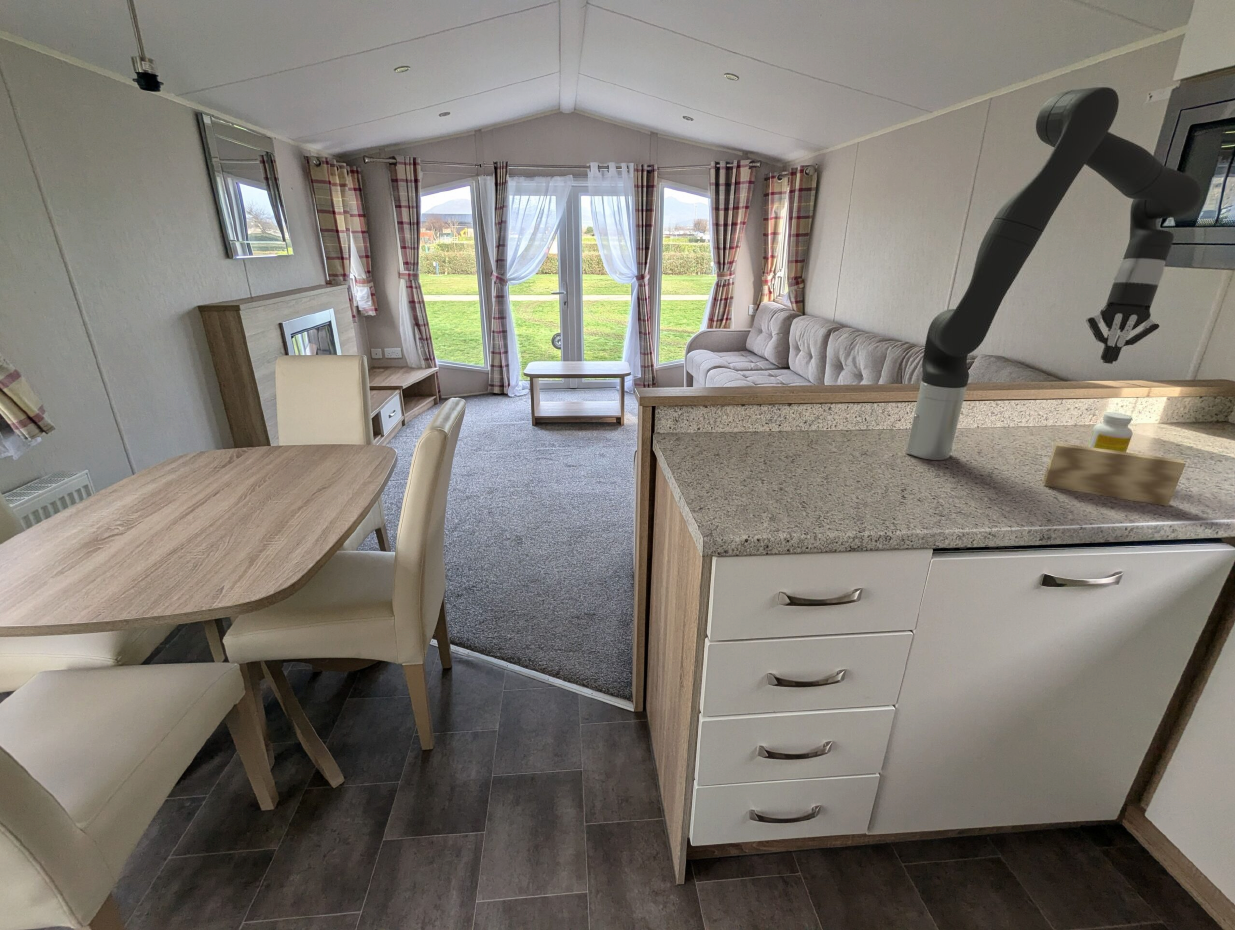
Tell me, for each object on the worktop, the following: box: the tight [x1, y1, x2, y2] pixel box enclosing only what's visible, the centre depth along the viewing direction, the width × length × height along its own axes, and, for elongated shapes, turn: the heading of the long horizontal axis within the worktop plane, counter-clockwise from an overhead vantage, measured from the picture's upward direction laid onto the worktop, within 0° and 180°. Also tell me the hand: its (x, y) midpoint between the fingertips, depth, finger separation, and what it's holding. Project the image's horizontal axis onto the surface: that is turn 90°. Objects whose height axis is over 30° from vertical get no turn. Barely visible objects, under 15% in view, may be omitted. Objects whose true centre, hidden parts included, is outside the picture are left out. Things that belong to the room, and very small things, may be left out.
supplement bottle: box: [1086, 411, 1133, 452], centre depth 125 cm, size 7×7×13 cm
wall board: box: [1042, 442, 1187, 507], centre depth 116 cm, size 20×6×9 cm, turn 62°
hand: (1107, 363), depth 128 cm, fingers closed
